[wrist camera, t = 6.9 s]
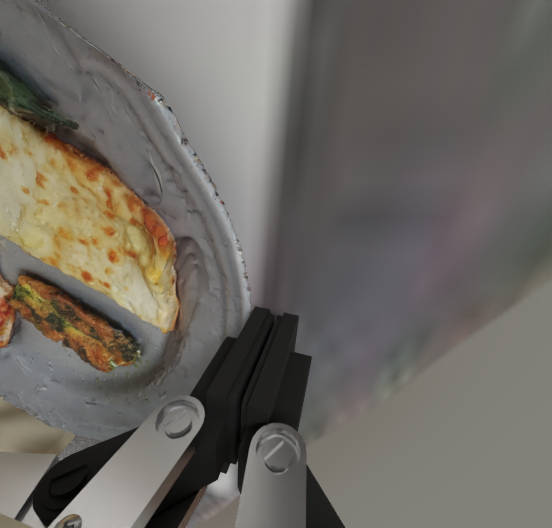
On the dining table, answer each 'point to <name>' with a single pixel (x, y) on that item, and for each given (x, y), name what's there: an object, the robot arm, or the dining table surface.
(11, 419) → the bay
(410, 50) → the dining table surface
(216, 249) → the food plate
